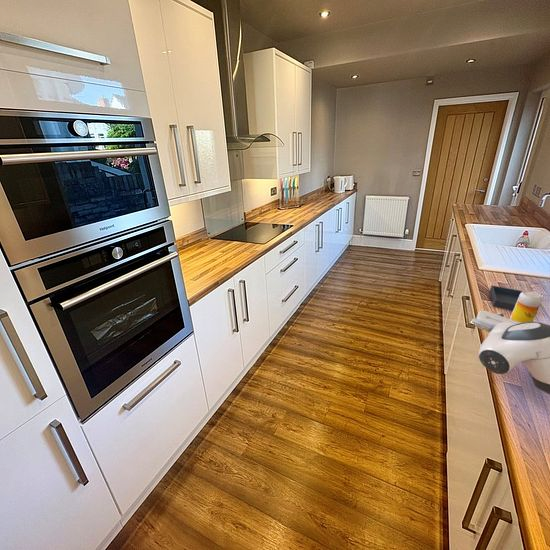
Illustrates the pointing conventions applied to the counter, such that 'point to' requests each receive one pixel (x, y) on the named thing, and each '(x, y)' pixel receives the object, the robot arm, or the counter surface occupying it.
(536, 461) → the counter surface
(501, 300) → the tray
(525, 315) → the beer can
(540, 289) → the counter surface
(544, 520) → the counter surface
